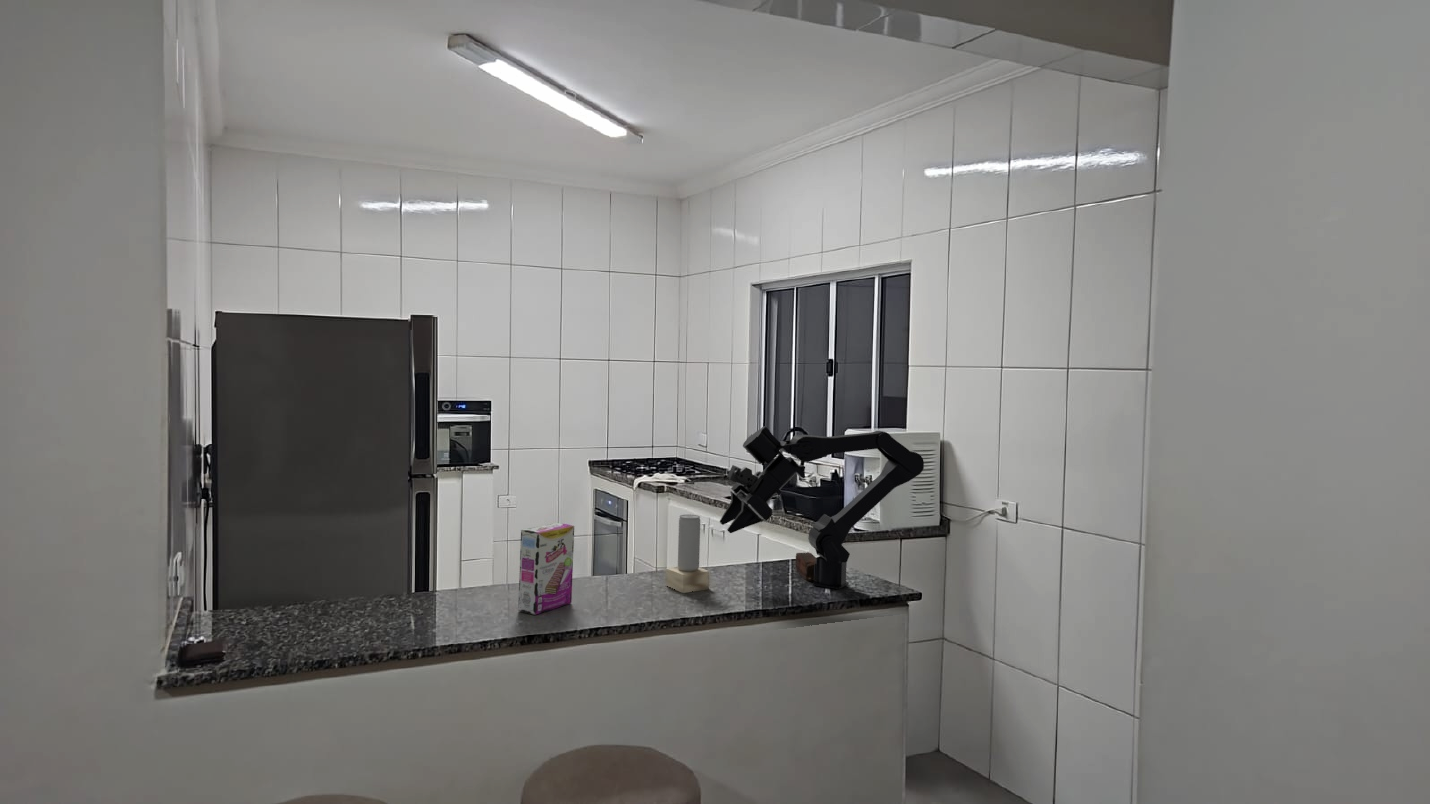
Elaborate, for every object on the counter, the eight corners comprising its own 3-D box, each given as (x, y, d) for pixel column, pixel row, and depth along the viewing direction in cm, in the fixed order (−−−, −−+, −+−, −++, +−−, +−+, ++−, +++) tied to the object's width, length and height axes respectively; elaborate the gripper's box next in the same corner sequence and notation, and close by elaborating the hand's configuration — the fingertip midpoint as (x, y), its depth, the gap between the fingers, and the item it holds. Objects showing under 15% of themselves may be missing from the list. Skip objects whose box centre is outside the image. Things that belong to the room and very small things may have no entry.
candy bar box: (536, 616, 172) (538, 532, 172) (517, 611, 175) (518, 529, 174) (573, 603, 182) (575, 524, 181) (555, 599, 184) (556, 521, 184)
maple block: (691, 582, 202) (691, 564, 202) (709, 588, 197) (709, 571, 196) (665, 585, 198) (665, 568, 198) (682, 593, 192) (683, 574, 192)
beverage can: (679, 566, 200) (680, 513, 200) (700, 567, 200) (701, 514, 199) (676, 571, 195) (677, 517, 195) (697, 572, 195) (699, 518, 194)
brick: (794, 571, 217) (795, 552, 216) (810, 571, 217) (810, 552, 217) (806, 582, 206) (806, 562, 206) (822, 581, 207) (823, 562, 207)
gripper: (740, 448, 207) (693, 495, 206) (758, 458, 189) (707, 510, 188) (772, 481, 209) (726, 528, 208) (793, 494, 191) (742, 546, 190)
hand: (724, 527), depth 198 cm, fingers open, 9 cm apart
